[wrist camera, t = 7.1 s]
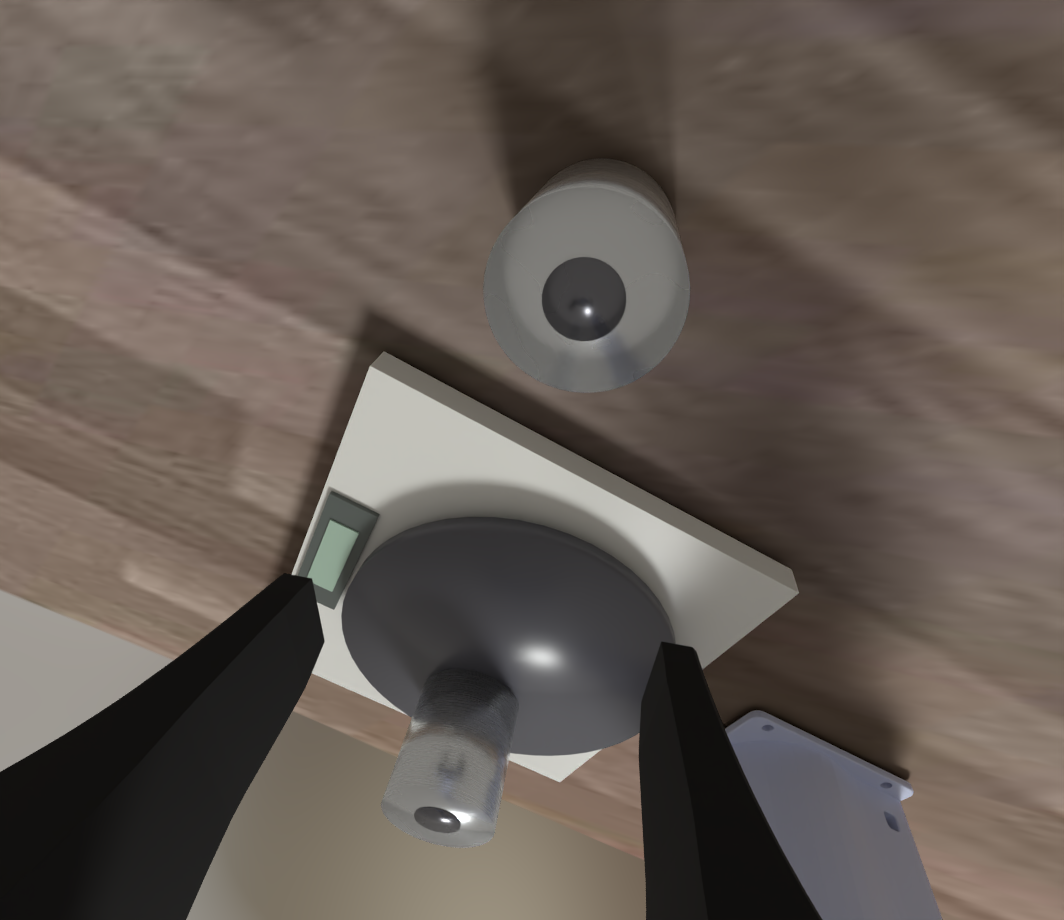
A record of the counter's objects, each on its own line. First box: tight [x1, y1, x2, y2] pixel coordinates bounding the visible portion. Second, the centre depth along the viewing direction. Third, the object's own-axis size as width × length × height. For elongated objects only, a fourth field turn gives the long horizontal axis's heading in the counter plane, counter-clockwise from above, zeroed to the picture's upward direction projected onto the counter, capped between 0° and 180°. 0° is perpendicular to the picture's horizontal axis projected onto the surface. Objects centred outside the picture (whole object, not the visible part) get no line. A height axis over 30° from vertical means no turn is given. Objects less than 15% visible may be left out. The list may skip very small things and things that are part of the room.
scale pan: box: [341, 517, 676, 756], centre depth 24 cm, size 14×14×1 cm
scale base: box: [291, 352, 799, 782], centre depth 25 cm, size 17×18×2 cm
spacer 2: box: [483, 158, 690, 393], centre depth 14 cm, size 4×4×5 cm
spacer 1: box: [381, 669, 519, 848], centre depth 23 cm, size 4×4×5 cm
